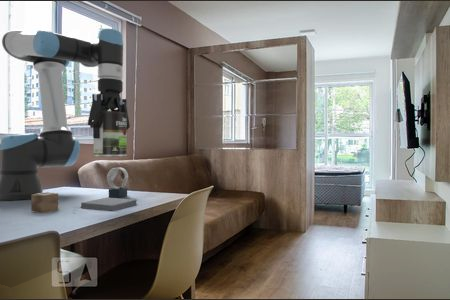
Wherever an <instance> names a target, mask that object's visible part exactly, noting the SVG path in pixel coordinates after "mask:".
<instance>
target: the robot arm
mask: <svg viewBox="0 0 450 300" xmlns="http://www.w3.org/2000/svg"><path fill="white" fill-rule="evenodd" d="M96 38H97V40H94V41H89V40H86V39H80V38H76V37H74V36H73V37H72V36H67V35H64V34H60V33H57V32H53V31H50V30H43V29H39V30H37V31H36V32H33V31H31V30H25V29H11V30H9V31H7V32H5V33H4V34H3V36H2V39H1V45H2V47H3V48H2V49H3V50H4V51H5V52H6V53H7V54H8V55H9V56H11V57H13V58H14V59H17V60H20V61H23V62H29V63H32V64H33V69H34V71H36V72H37V73H38V83H39V92H40V104H41V106H40V107H41V114H42V125H43V126H42V128H43V130H42V131H41V132H40V133H39V135H38V133H36V132H31V133H30V132H28V133H18V134H10V135H9V134H8V135H7V134H6V135H4V136H2V138H1V140H0V201H19V200H31V195H33V194H37V193H44V189H43V188H42V185H41V181H40V178H39V175H38V172H39V171H38V169H39V168H58V167H59V168H63V167H71V166H73V165H74V164H75V163H76V162H77V160H78V158H79V155H80V151H81V150H80V149H81V144H80V141H79V139H78V138H77V137H75V136H73V131H72V130H71V129H69V128H68V118H67V111H66V110H67V109H66V104H65V103H66V100H65V93H64V92H65V91H64V81H63V72H64V71H65V70H66V67H68V65H69V64H70V62H73V63H79V64H80V65H82V66H83V67H86V68H96V67H97V78H98V80H97V90H98V92H99V93H92V96H91V98H92V99H91V100H92V102H91V105H90V106H91V107H90V110H89V116H88V120H87V126H89V127H90V128H91V129H93V130H92V132H93V133H92V134H93V135H92V138H93V150H94V149H96V150H103V128H100V127H101V125H102V123H103V114H102V115H99V112H100V111H118V112H126V113H127V131H128V130H129V128H130V121H129V120H130V119H129V112H128V106H127V99H126V98H121V93H123V89H124V88H123V87H124V86H123V85H124V84H123V81H122V80H123V64H124V63H123V62H124V61H123V60H124V58H123V57H124V41H123V34H122V32H121V31H119V30H116V29H113V28H102V29H100V30H98V32H97V37H96Z"/></svg>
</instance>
